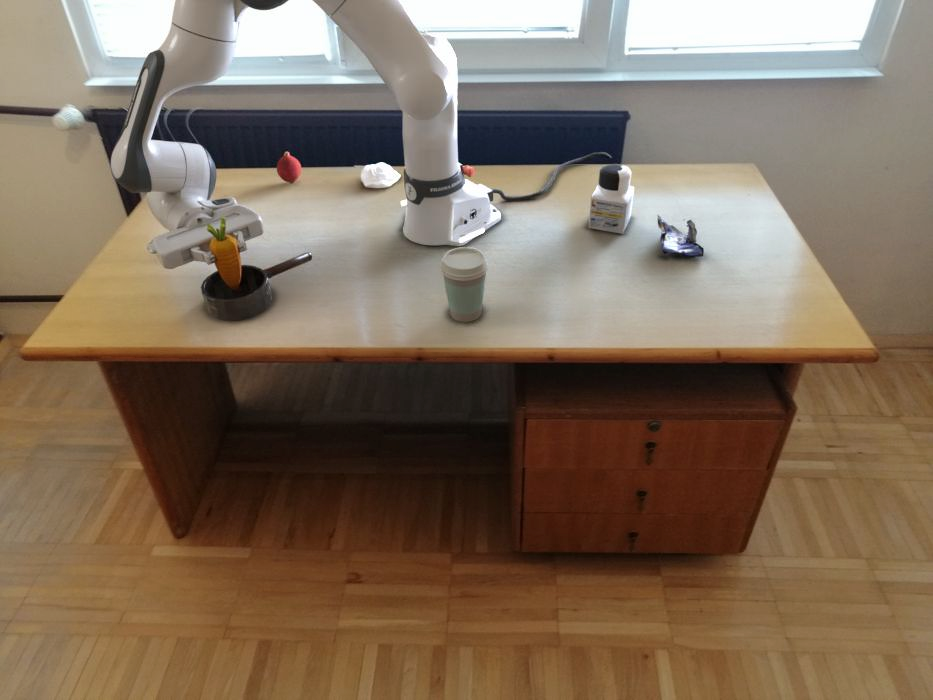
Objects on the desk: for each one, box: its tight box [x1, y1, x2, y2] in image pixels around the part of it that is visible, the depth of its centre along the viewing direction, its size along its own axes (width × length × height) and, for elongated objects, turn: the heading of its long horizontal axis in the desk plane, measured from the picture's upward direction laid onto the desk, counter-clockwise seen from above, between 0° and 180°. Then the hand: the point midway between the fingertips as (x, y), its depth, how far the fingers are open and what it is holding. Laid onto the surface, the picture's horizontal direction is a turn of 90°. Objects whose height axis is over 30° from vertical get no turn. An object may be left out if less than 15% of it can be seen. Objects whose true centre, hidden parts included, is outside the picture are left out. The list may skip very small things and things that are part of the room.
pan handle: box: [259, 251, 313, 280], centre depth 142 cm, size 11×2×2 cm, turn 130°
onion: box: [276, 151, 302, 184], centre depth 175 cm, size 6×6×8 cm
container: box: [588, 163, 635, 235], centre depth 154 cm, size 8×8×13 cm
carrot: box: [207, 217, 242, 291], centre depth 132 cm, size 5×5×15 cm
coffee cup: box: [439, 246, 489, 323], centre depth 130 cm, size 8×9×12 cm
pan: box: [200, 264, 273, 322], centre depth 137 cm, size 12×12×4 cm
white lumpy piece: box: [360, 161, 401, 189], centre depth 176 cm, size 10×4×10 cm
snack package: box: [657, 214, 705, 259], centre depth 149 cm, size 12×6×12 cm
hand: (227, 253), depth 131 cm, fingers closed on carrot, 5 cm apart
